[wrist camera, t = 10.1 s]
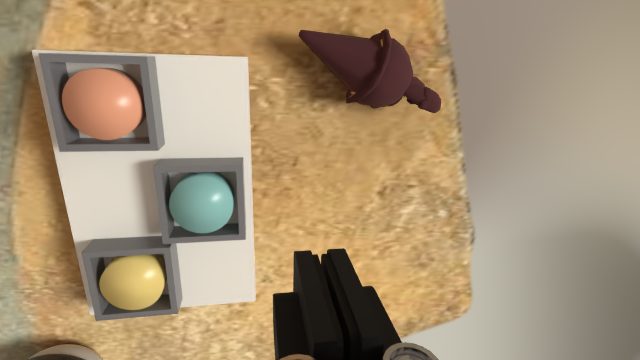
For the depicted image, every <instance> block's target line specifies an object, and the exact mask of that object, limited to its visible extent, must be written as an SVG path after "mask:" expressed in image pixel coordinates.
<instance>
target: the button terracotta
mask: <svg viewBox="0 0 640 360" xmlns="http://www.w3.org/2000/svg"><path fill="white" fill-rule="evenodd" d="M62 104H63V108H64V111H65V114H66V116H67V117H68V119H69V120H70V122H71V123H72V124H73V125H74V126H75V127H76V128H77V129H78V130H80V131H81V132H82V133H84V134H86V135H88V136H90V137H93V138H96V139H101V140H113V139H117V138H121V137H123V136H125V135H126V134H128V133H130V132H131V131H133V130H134V129H136V128H137V127H139V126H140V125H141V123H142V122H143V121H144V119H145V117H146V109H145V102H144V94H143V88H142V87H141V85H140V84H139V83H138V82H137V81H136V80H135V79H134V78H133V77H132V76H131V75H129V74H127V73H126V72H123V71H121V70H118V69H114V68H95V69H87V70H83V71H80V72H78V73H76V74H75V75H73V76H72V77H71V78H70V79H69V80H68V81H67V83H66V85H65V86H64V89H63V93H62Z"/></svg>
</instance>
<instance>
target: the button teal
mask: <svg viewBox="0 0 640 360" xmlns="http://www.w3.org/2000/svg"><path fill="white" fill-rule="evenodd" d="M233 205H234V190H233V187H232V185H231V183H230V182H229V180H228V179H227V178H226V177H225V176H224V175H222V174H221V173H219V172H189V173H187V174H186V175H184V176H183V177H182V178H181V179H180V180H179V182H178V183H177V185H176V187H175V189H174V190H173V192H172V194H171V196H170V201H169V208H170V212H171V215H172V217H173V218H174V220H175V221H176V222H177V223H178V224H179V225H180V226H181V227H183V228H184V229H186V230H188V231H191V232H195V233H210V232H213V231H216V230H218V229H220V228H221V227H223V226H224V225H225V224H226V223H227V222H228V220H229V219H230V217H231V215H232V212H233Z"/></svg>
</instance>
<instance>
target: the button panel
mask: <svg viewBox="0 0 640 360" xmlns="http://www.w3.org/2000/svg"><path fill="white" fill-rule="evenodd" d="M32 54H33V59H34V63H35V68H36V72H37V77H38V81H39V86H40V90H41V95H42V100H43V104H44V109H45V113H46V118H47V122H48V127H49V131H50V136H51V140H52V145H53V149H54V154H55V158H56V163H57V167H58V172H59V177H60V181H61V186H62V190H63V195H64V199H65V204H66V208H67V213H68V217H69V222H70V226H71V231H72V235H73V240H74V244H75V249H76V253H77V258H78V263H79V267H80V272H81V276H82V281H83V285H84V290H85V294H86V299H87V303H88V308H89V312H90V315H95V319H96V321H99V320H111V319H122V318H134V317H145V316H157V315H168V314H178V312H179V309H180V307H191V306H203V305H215V304H227V303H238V302H250V301H255V257H254V226H253V195H252V164H251V133H250V102H249V71H248V57H237V56H207V55H177V54H147V53H117V52H87V51H57V50H32ZM95 68H114V69H118V70H121V71H123V72H126V73H127V74H129V75H131V76H132V77H133V78H134V79H135V80H136V81H137V82H138V83H139V84H140V85H141V87H142V88H143V94H144V102H145V109H146V117H145V119H144V121H143V122H142V123H141V125H140V126H139V127H137V128H136V129H134V130H133V131H131V132H130V133H128V134H126V135H125V136H123V137H121V138H117V139H113V140H101V139H96V138H93V137H90V136H88V135H86V134H84V133H82V132H81V131H80V130H78V129H77V128H76V127H75V126H74V125H73V124H72V123H71V122H70V120H69V119H68V117H67V116H66V114H65V111H64V108H63V104H62V93H63V89H64V86H65V85H66V83H67V81H68V80H69V79H70V78H71V77H72V76H73V75H75V74H76V73H78V72H80V71H83V70H87V69H95ZM189 172H219V173H221V174H222V175H224V176H225V177H226V178H227V179H228V180H229V182H230V183H231V185H232V187H233V190H234V205H233V212H232V215H231V217H230V219H229V220H228V222H227V223H226V224H225V225H224V226H223V227H221V228H220V229H218V230H216V231H213V232H210V233H195V232H191V231H188V230H186V229H184V228H183V227H181V226H180V225H179V224H178V223H177V222H176V221H175V220H174V218H173V217H172V215H171V212H170V208H169V201H170V196H171V194H172V192H173V190H174V189H175V187H176V185H177V183H178V182H179V180H180V179H181V178H182V177H183V176H184V175H186V174H187V173H189ZM148 254H159V255H161V256H162V257H163V259H164V260H165V265H166V273H167V281H166V284H165V286H164V289H163V291H162V294H161V296H160V297H159V299H158V300H157V301H156V302H155V303H154V304H152V305H151V306H149V307H146V308H144V309H139V310H126V309H121V308H118V307H116V306H114V305H112V304H111V303H109V302H108V301H107V300H106V299H105V298H104V296H103V295H102V293H101V291H100V286H99V283H100V278H101V275H102V274H103V272H104V271H105V269H106V268H107V266H108V265H109V263H110V262H111V261H112V259H113V258H114V257H115V256H131V255H148Z"/></svg>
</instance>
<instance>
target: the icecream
mask: <svg viewBox="0 0 640 360" xmlns="http://www.w3.org/2000/svg"><path fill="white" fill-rule="evenodd" d="M299 37H300V38H301V39H302V40H303V42H304V43H305V44H306V45H307V46H308V47H309V48H310V49H311V50H312V51H313V52H314V53H315V54H316V55H317V56H318V57H319V58H320V59H321V60H322V61H323V62H324V63H325V64H326V66H327V67H328V68H329V69H330V70H331V71H332V72H333V73H334V74H335V75H336V76H337V77H338V78H339V79H340V80H341V81H342V82H343V83H344V85H345V86H346V87H347V88H348V91H347V93H346V98H347V99H346V103H351V102H358V103H359V104H363V105H369V106H371V107H372V108H379V107H384V106H393V105H394V104H396V103H398V102H399V101H400V100H401V99H402V96H403V95H404V96H406V97H407V101H408V102H409V103H410V104H416V105H418V107H419V108H420V109H424V110H426V111H429V112H432V113H436V112H438V111H439V110H440V107H441V99H440V97H439V95H438V94H437V93H436V92H434V91H433V90H431V89H430V88H427V87H425V86H424V84H423V83H422V82H421V81H420V80H419V79H418V78H416V77H413V70H412V66H411V62H410V58H409V55H408V53H407V52H406V50H405V48H404V46H403V45H401V44H400V43H399V42H398V41H396V40H395V39H392V38H391V37H390V34H389V31H388V30H387V29H385V30H383V31H381V33H378V34H376V35H373V36H372V37H371V38H370V39H369V38H361V37H353V36H345V35H337V34H329V33H322V32H315V31H307V30H301V31H300V32H299Z"/></svg>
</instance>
